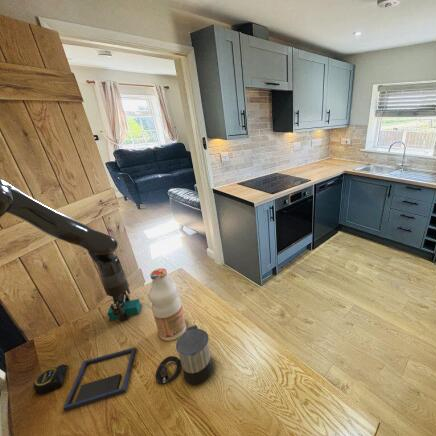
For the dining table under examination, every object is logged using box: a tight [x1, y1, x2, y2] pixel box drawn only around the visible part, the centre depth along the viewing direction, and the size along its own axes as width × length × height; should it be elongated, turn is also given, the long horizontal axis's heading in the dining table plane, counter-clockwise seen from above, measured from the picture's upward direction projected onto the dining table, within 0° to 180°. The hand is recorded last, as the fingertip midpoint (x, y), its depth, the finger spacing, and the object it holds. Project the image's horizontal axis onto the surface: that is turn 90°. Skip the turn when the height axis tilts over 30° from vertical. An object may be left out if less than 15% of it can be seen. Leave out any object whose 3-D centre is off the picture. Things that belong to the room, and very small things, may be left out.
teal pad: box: [107, 298, 142, 321], centre depth 98 cm, size 10×5×5 cm, turn 111°
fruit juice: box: [148, 267, 187, 342], centre depth 86 cm, size 9×9×28 cm
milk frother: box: [155, 324, 214, 386], centre depth 74 cm, size 14×16×15 cm
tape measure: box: [32, 363, 69, 395], centre depth 72 cm, size 7×7×4 cm
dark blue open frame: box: [62, 347, 137, 412], centre depth 74 cm, size 15×15×2 cm
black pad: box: [74, 373, 122, 402], centre depth 71 cm, size 10×5×2 cm, turn 111°
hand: (126, 312), depth 98 cm, fingers open, 7 cm apart
